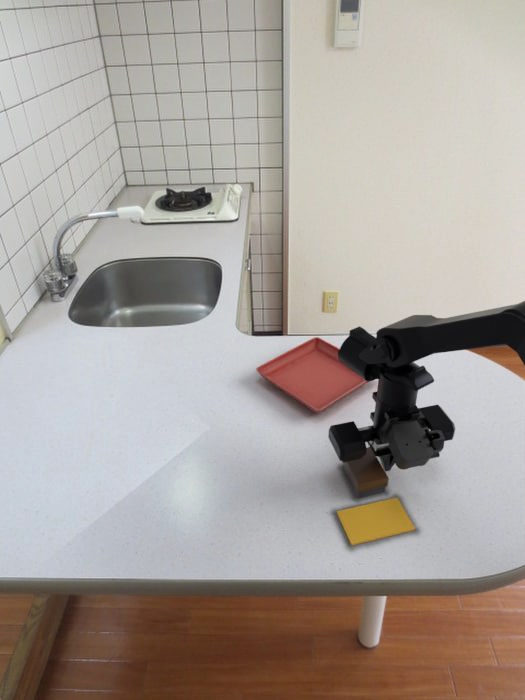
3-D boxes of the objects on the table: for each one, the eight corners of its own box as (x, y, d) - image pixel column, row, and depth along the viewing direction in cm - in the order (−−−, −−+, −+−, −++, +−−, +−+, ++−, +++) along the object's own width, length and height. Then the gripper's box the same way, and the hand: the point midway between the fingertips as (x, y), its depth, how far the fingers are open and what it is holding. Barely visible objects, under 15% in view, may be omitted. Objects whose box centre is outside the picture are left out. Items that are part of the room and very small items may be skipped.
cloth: (396, 498, 82) (397, 497, 82) (415, 530, 77) (415, 528, 77) (336, 512, 80) (336, 511, 80) (351, 545, 76) (351, 544, 75)
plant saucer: (316, 347, 118) (316, 335, 116) (380, 383, 106) (381, 370, 104) (254, 381, 108) (254, 368, 106) (318, 425, 97) (318, 411, 95)
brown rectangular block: (386, 493, 83) (388, 477, 81) (356, 499, 82) (358, 484, 80) (368, 461, 89) (370, 446, 87) (341, 467, 88) (342, 452, 86)
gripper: (357, 446, 69) (350, 521, 78) (485, 420, 72) (464, 495, 81) (329, 394, 78) (325, 467, 87) (443, 372, 81) (428, 445, 90)
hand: (385, 469), depth 86 cm, fingers closed
